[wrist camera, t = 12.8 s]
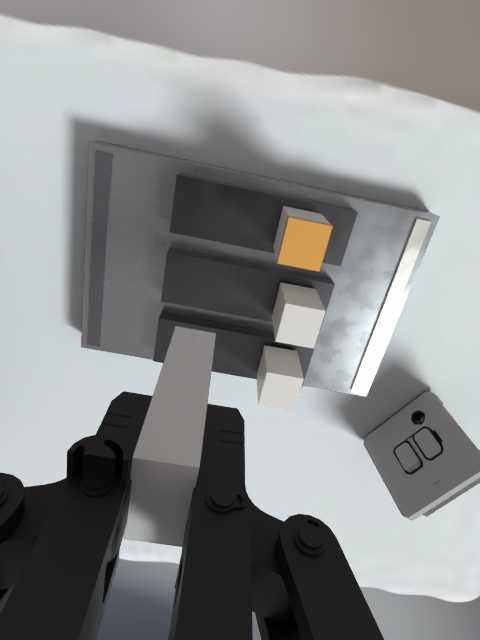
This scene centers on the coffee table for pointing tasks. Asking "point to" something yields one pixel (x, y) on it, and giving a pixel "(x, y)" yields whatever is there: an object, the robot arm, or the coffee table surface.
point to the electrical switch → (424, 457)
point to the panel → (155, 236)
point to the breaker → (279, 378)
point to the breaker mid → (297, 315)
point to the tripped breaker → (301, 238)
